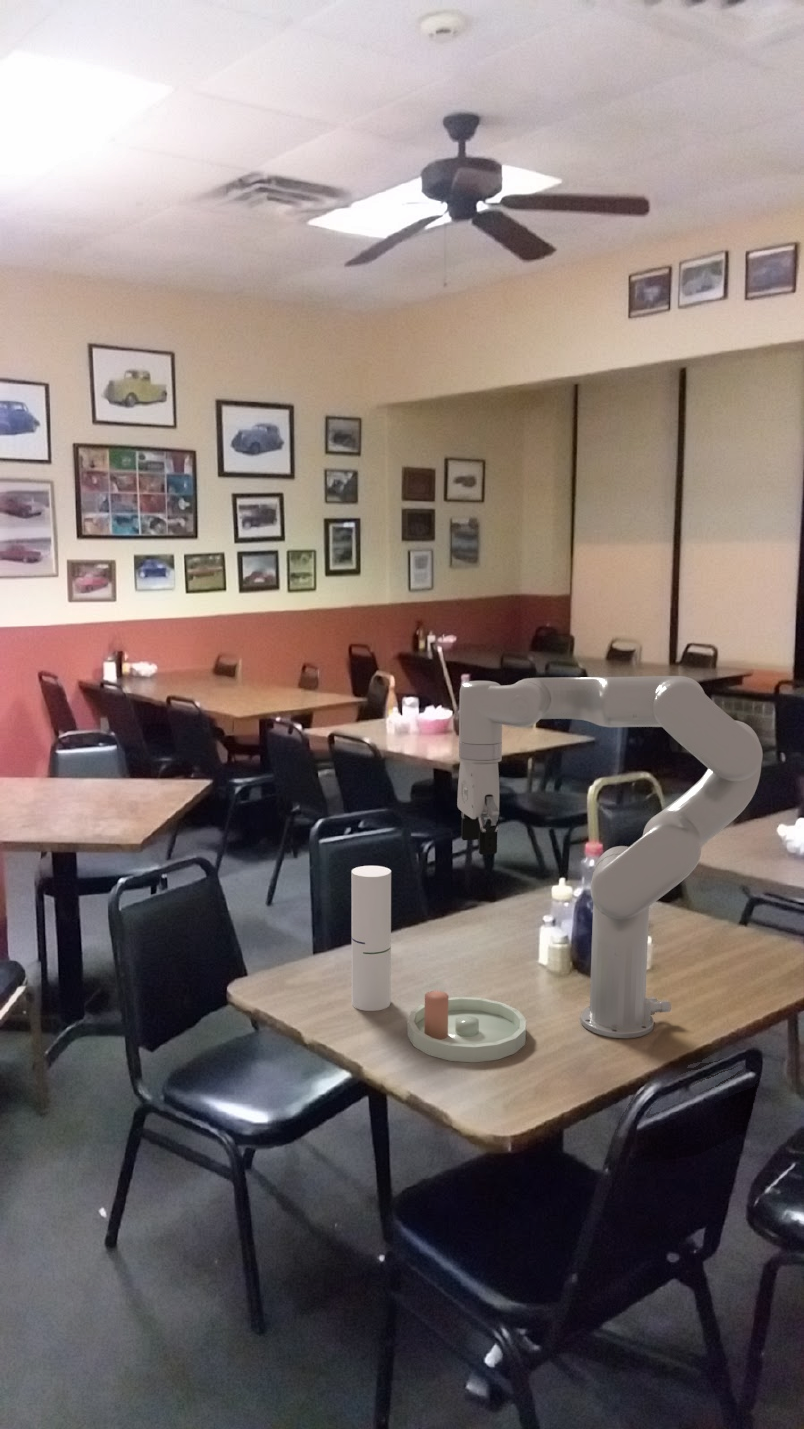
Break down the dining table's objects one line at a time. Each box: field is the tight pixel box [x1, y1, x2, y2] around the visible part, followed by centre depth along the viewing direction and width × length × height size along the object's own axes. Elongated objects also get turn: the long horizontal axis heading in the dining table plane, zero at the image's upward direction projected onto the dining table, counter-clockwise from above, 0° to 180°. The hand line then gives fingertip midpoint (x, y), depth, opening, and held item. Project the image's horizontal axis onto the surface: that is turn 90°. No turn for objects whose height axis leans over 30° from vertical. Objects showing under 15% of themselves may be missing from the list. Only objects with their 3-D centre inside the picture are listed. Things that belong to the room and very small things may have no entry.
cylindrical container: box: [351, 865, 392, 1012], centre depth 194 cm, size 7×7×25 cm
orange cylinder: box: [424, 990, 449, 1040], centre depth 181 cm, size 4×4×7 cm
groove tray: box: [407, 996, 527, 1063], centre depth 183 cm, size 20×20×3 cm
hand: (478, 846), depth 190 cm, fingers open, 9 cm apart
